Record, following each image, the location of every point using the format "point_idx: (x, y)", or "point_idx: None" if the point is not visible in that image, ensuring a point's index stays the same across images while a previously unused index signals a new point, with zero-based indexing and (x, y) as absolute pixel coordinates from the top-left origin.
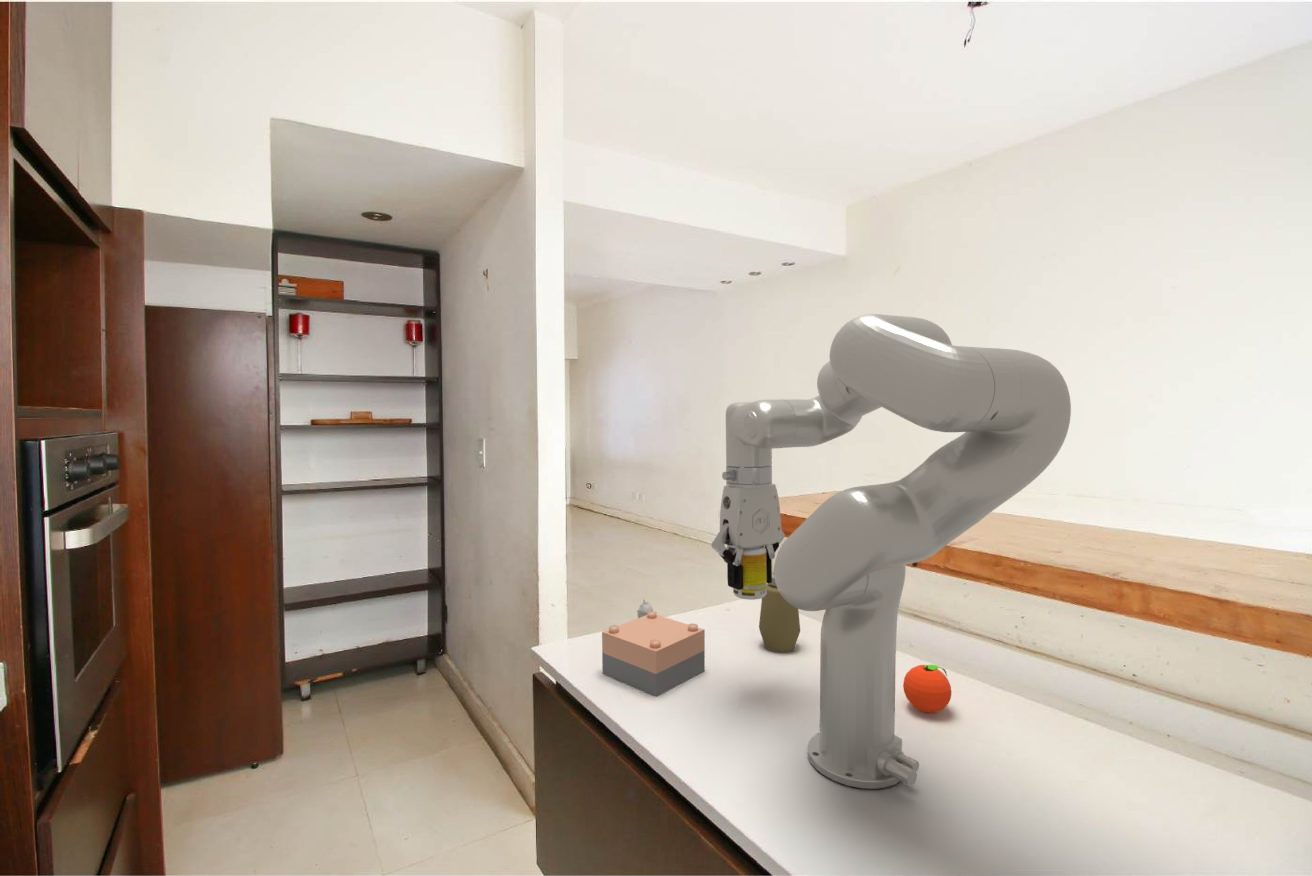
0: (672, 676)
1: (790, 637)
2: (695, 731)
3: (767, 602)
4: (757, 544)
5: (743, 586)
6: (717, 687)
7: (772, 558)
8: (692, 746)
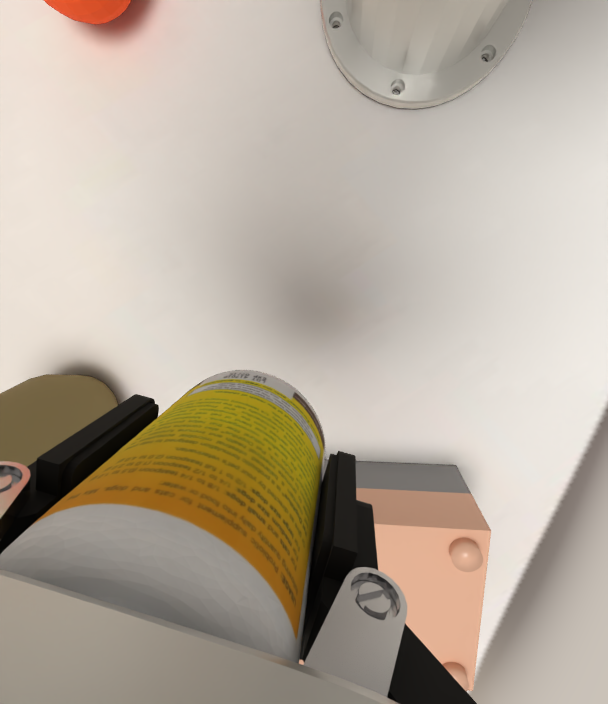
0: (408, 476)
1: (74, 380)
2: (525, 326)
3: None
4: (150, 636)
5: (321, 458)
6: (340, 398)
7: (13, 465)
8: (579, 296)
